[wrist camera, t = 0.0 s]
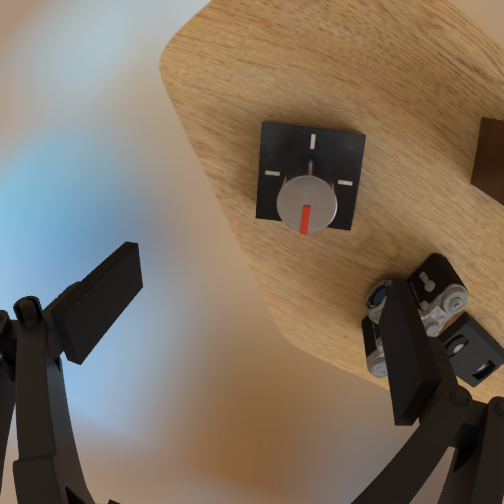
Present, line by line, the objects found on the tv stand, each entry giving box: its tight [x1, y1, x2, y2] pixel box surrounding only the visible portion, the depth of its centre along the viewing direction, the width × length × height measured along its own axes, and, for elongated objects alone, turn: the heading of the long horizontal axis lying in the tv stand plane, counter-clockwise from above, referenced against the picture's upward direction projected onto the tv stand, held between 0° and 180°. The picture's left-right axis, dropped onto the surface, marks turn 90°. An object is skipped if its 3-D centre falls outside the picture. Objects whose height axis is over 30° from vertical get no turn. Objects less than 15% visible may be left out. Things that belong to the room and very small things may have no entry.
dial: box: [277, 156, 337, 235], centre depth 27 cm, size 4×4×9 cm
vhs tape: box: [438, 311, 504, 387], centre depth 39 cm, size 14×8×2 cm, turn 57°
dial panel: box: [256, 121, 366, 231], centre depth 32 cm, size 10×10×3 cm
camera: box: [362, 253, 468, 378], centre depth 33 cm, size 15×7×10 cm, turn 145°
